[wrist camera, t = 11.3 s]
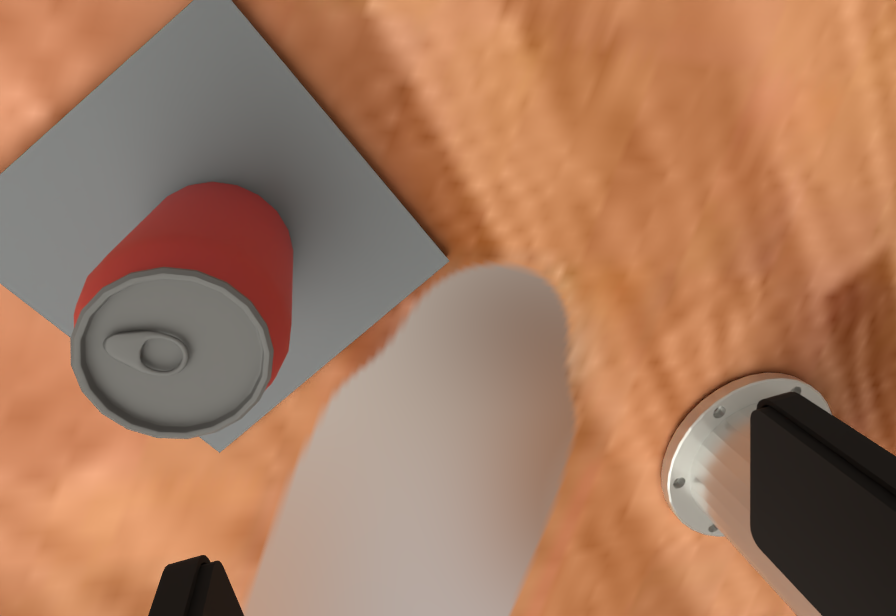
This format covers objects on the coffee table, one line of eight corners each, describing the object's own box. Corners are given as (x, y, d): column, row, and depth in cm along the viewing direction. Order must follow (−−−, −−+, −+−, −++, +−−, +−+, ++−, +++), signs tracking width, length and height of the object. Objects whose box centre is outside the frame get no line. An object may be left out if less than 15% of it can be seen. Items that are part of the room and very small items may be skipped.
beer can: (161, 160, 27) (67, 222, 16) (309, 203, 29) (316, 285, 18) (133, 295, 29) (31, 435, 18) (274, 327, 31) (261, 470, 20)
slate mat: (446, 257, 32) (449, 260, 31) (220, 446, 33) (219, 452, 32) (216, -18, 25) (215, -20, 25) (-58, 229, 26) (-65, 233, 26)
